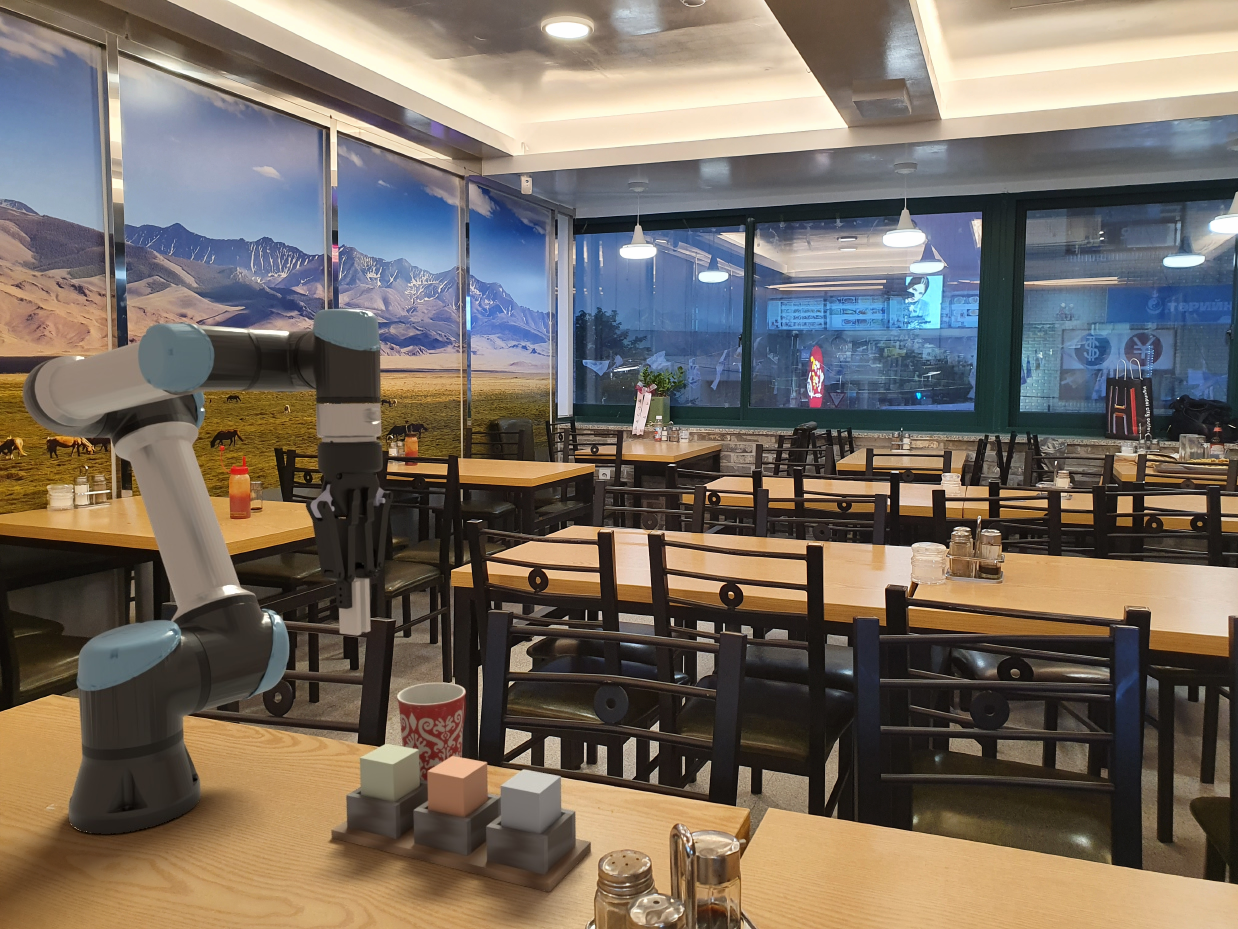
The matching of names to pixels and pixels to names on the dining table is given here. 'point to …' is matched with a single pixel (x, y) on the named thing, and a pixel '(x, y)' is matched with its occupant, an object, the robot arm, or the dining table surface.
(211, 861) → the dining table surface
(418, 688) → the mug
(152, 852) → the dining table surface
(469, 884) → the dining table surface
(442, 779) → the terracotta button
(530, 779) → the slate button
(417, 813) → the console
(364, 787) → the sage button
